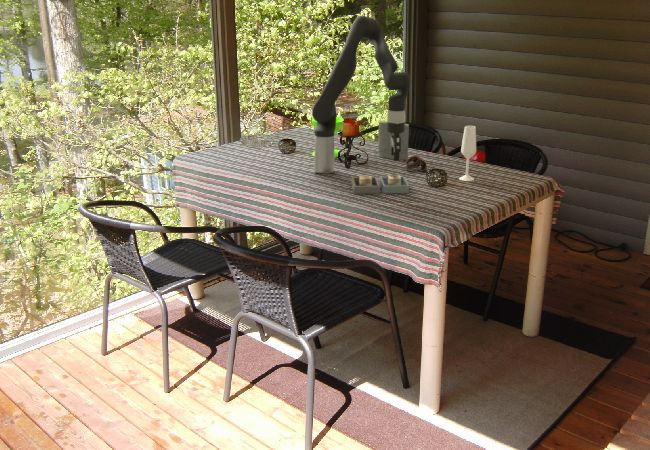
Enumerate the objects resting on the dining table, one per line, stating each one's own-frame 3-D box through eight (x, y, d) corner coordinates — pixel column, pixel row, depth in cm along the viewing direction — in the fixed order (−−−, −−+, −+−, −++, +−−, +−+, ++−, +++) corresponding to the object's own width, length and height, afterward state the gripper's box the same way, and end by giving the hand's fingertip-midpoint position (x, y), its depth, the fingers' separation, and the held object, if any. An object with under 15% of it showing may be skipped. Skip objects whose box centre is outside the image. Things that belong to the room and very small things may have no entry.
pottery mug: (429, 174, 341) (422, 160, 337) (411, 182, 344) (403, 168, 340) (427, 161, 351) (420, 148, 347) (409, 169, 354) (402, 155, 350)
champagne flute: (464, 175, 337) (468, 124, 329) (477, 178, 333) (480, 126, 324) (456, 178, 333) (459, 126, 324) (468, 181, 328) (472, 129, 320)
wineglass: (343, 158, 366) (344, 123, 359) (311, 158, 366) (311, 123, 360) (343, 150, 381) (343, 116, 374) (312, 150, 381) (312, 116, 375)
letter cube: (389, 189, 315) (389, 178, 314) (387, 186, 320) (388, 174, 318) (400, 189, 316) (401, 178, 314) (399, 186, 320) (399, 174, 318)
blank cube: (360, 190, 315) (360, 179, 313) (359, 186, 320) (359, 175, 318) (371, 190, 315) (372, 178, 313) (370, 186, 320) (370, 175, 318)
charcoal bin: (354, 194, 311) (354, 186, 310) (351, 185, 324) (351, 177, 323) (379, 194, 311) (380, 186, 310) (376, 184, 324) (376, 176, 323)
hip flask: (408, 158, 365) (410, 119, 358) (405, 160, 362) (406, 120, 355) (379, 154, 372) (380, 116, 365) (376, 156, 369) (377, 117, 362)
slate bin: (383, 194, 311) (383, 186, 310) (379, 184, 324) (379, 176, 323) (409, 194, 312) (409, 186, 310) (404, 184, 325) (404, 176, 324)
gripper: (385, 117, 314) (384, 153, 320) (389, 124, 301) (388, 162, 306) (402, 116, 314) (401, 153, 320) (407, 124, 301) (406, 162, 307)
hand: (395, 157), depth 313 cm, fingers open, 8 cm apart
